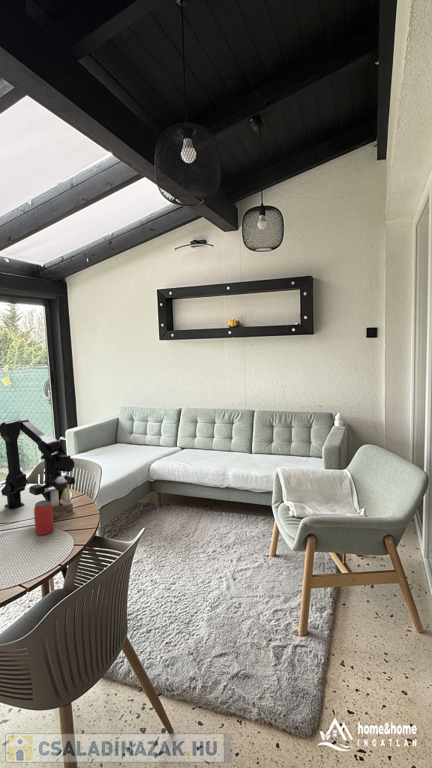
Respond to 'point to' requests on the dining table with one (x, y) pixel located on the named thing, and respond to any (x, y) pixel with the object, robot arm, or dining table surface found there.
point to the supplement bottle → (65, 491)
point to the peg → (54, 497)
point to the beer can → (43, 518)
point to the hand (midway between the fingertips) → (54, 503)
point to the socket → (62, 510)
